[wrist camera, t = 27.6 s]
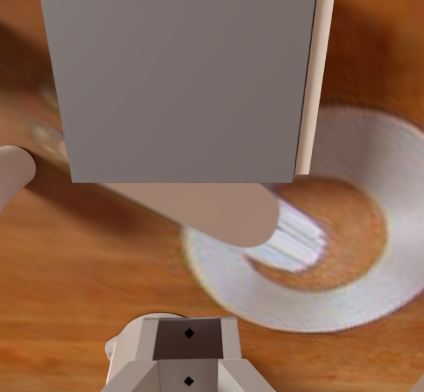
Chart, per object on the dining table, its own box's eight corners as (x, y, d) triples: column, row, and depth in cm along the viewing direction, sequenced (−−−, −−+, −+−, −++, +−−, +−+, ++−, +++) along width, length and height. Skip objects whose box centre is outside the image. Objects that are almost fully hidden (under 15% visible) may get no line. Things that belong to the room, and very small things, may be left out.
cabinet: (261, 134, 42) (292, 182, 28) (116, 133, 41) (72, 182, 27) (274, -38, 35) (326, -93, 20) (97, -42, 34) (22, -102, 20)
